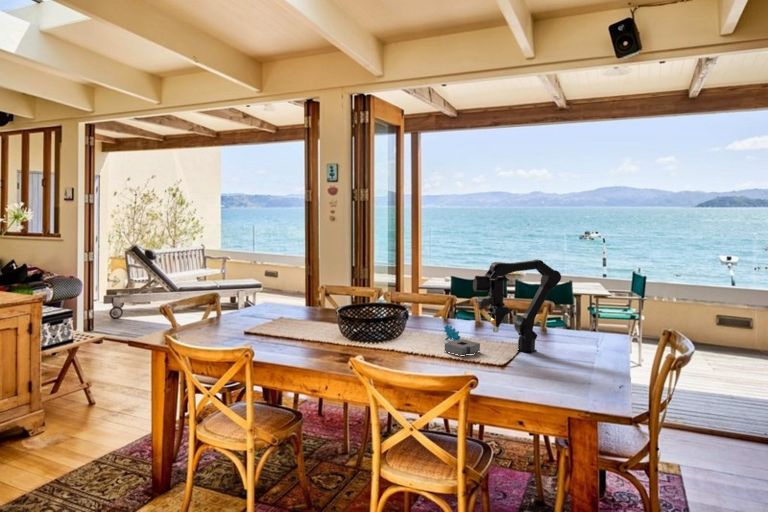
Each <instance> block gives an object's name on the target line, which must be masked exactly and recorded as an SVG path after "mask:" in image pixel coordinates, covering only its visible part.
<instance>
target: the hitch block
mask: <svg viewBox="0 0 768 512" xmlns="http://www.w3.org/2000/svg"><path fill="white" fill-rule="evenodd" d="M445 351H446V352H450V353H454V354H458V355H466V354H474V353H476V352H478V351H480V352H481V342H480V343H479V342H475V341H472V340H468V339H465V338H460V340H454V339H452V340H450V341H449V342H445V343H444V352H445ZM446 352H445V353H446ZM476 354H477V353H476Z"/></svg>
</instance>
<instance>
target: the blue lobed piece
mask: <svg viewBox="0 0 768 512" xmlns="http://www.w3.org/2000/svg"><path fill="white" fill-rule="evenodd" d="M443 328H444V330H443V331H444V332H445V335H446V337H445V339H444V340H445V341H446V340H447V341H448V340H450V341H452V340H461V336H460V335H459V334H460V331H459V330H458V331H457V330H456V328H455V327H454V328H453V326H452V325H448V324H446V325H445V326H444V327H443ZM452 338H453V339H452Z"/></svg>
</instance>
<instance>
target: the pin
mask: <svg viewBox="0 0 768 512" xmlns="http://www.w3.org/2000/svg"><path fill="white" fill-rule="evenodd" d="M490 324H491V325H492V332H493V333H499V327H500V326H499V327H496V322H495V318H492V317H491V319H490Z"/></svg>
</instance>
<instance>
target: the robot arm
mask: <svg viewBox="0 0 768 512" xmlns="http://www.w3.org/2000/svg"><path fill="white" fill-rule="evenodd" d="M531 270H532V271H533V270H536V271H537V272H538V273H539V274H540V275H541V278H540V283H539V287H538V289H537V291H536V292H535V294H534V297H533V298H532V300H531V301H530V304H529V306H528V307H527V309H526V311H525V312H524V314H522V315H521V314H518V315H517V317H516V320H515V321H514V322H513V323H514V330H515V331H516V332H517V334H518V341H517V342H518V343H517V345H518V346H517V349H519V351H518V352H521V353H525V354H531V353H534V352H535V353H536V352H537V351H538V350H537V349H536V339H537V338H538V334H537V333H536V332H535V330H533V329H534V326H535V320H536V319H535V318H536V317H537V315H538V313H539V311H540V310H541V308H542V307H543V304H544V303H545V301H546V299H547V297H548V295H549V293H550V291H551V290H553V289H554V288H556V287H557V285H558V284H559V282H561V280H562V275H561V272H560V271H559V270H556V269H554V268H552V267H550V266H549V265H548V264H546V263H545V262H544V261H543V260H541V259H533V260H525V261H517V262H502V261H494V262H492V263H491V264H490V265H489V269H488V270H487V271H486V272H485V274H484V275H475V276H474V278H473V282H472V289H473V291H474V292H488V291H489V292H488V295H486V296H484V297H481V298H478V299H477V300H476V302H477V304H478V307H479V308H480V309H484V308H485V307H486V309H487V310H488V312H490V315H491V316H490V317H491V319H492V318H495V322H496V327H500V326H501V325H502V321H503V319H504V318H505V316H506V315H508V314H510V308H509V307H507V305H506V303H505V302H504V297H506V293H504V290H505V282H509V280H510V279H509V278H507V275H509V274H511V273H514V272H523V271H531Z"/></svg>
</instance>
